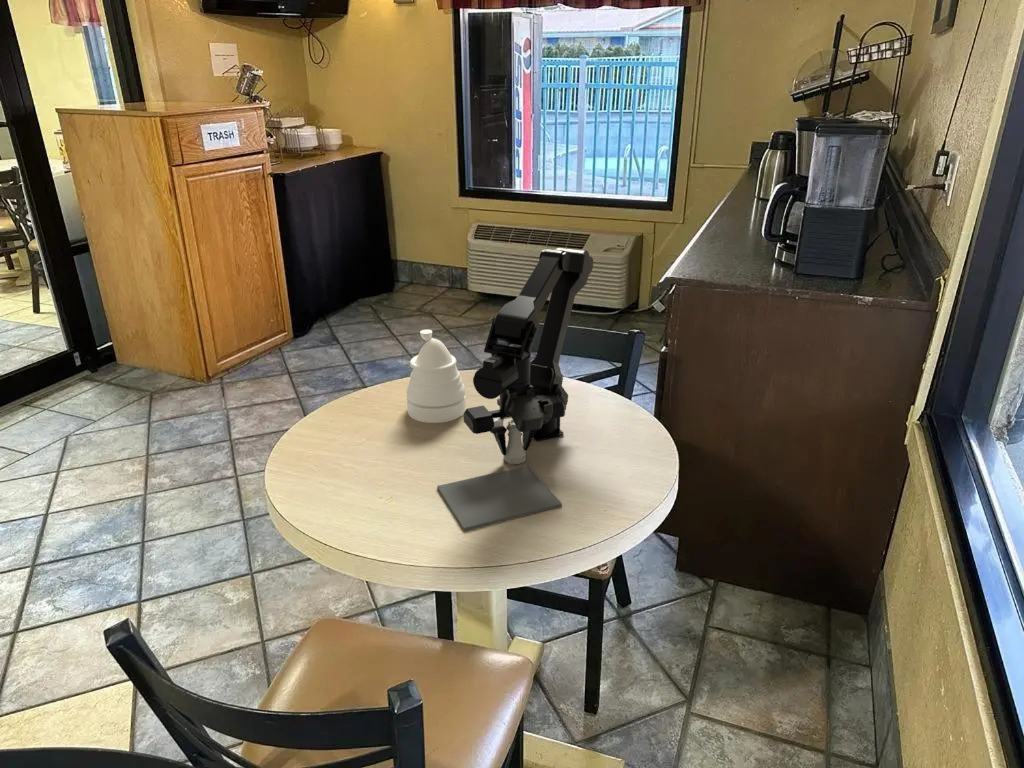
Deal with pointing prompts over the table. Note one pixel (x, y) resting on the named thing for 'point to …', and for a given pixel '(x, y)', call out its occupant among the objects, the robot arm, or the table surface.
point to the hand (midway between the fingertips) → (514, 452)
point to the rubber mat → (497, 497)
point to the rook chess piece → (514, 446)
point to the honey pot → (435, 384)
